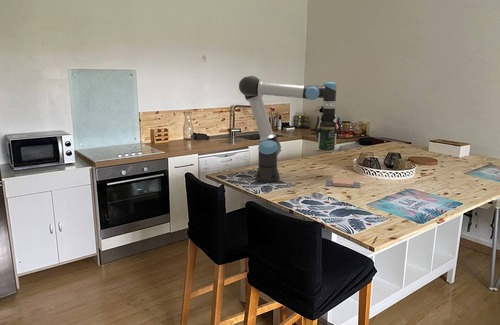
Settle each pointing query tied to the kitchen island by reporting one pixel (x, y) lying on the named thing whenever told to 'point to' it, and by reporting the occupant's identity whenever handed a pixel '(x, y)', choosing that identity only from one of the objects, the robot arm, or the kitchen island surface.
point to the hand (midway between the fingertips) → (327, 143)
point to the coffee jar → (327, 136)
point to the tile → (342, 182)
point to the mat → (329, 183)
